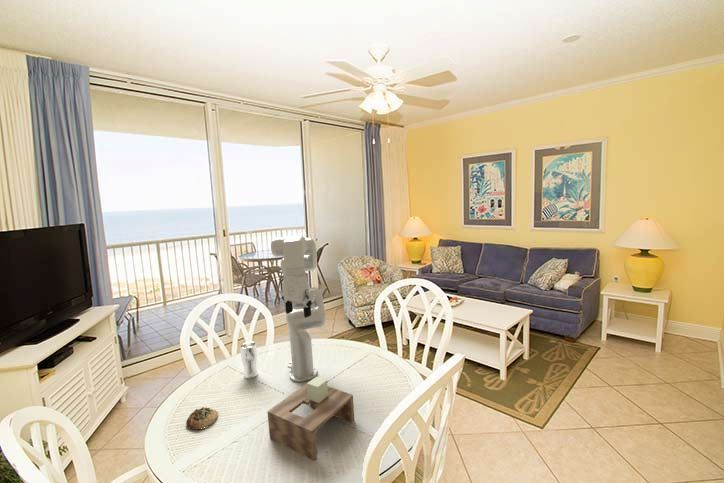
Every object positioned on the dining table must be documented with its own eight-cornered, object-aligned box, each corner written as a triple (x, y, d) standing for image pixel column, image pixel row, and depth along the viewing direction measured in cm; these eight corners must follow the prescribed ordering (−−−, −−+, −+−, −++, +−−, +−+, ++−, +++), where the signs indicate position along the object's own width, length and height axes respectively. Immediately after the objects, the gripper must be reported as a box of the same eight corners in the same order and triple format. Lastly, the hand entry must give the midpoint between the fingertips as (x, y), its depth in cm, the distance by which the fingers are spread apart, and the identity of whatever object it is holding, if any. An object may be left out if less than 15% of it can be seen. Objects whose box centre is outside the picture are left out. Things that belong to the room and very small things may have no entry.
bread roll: (183, 419, 130) (184, 407, 129) (214, 411, 136) (215, 399, 136) (189, 436, 121) (189, 423, 121) (222, 426, 128) (222, 414, 127)
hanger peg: (309, 417, 123) (306, 383, 121) (318, 409, 127) (316, 376, 125) (320, 421, 120) (317, 387, 118) (329, 413, 124) (326, 380, 122)
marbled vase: (245, 372, 164) (242, 342, 162) (260, 370, 164) (257, 341, 162) (241, 379, 157) (238, 348, 155) (257, 378, 157) (253, 347, 155)
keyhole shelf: (269, 438, 117) (267, 411, 116) (312, 404, 135) (311, 380, 134) (314, 460, 106) (311, 431, 105) (354, 420, 124) (352, 394, 123)
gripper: (271, 271, 132) (275, 314, 134) (305, 275, 123) (308, 321, 125) (286, 267, 138) (289, 308, 141) (318, 271, 129) (321, 314, 131)
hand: (298, 314), depth 133 cm, fingers open, 9 cm apart
